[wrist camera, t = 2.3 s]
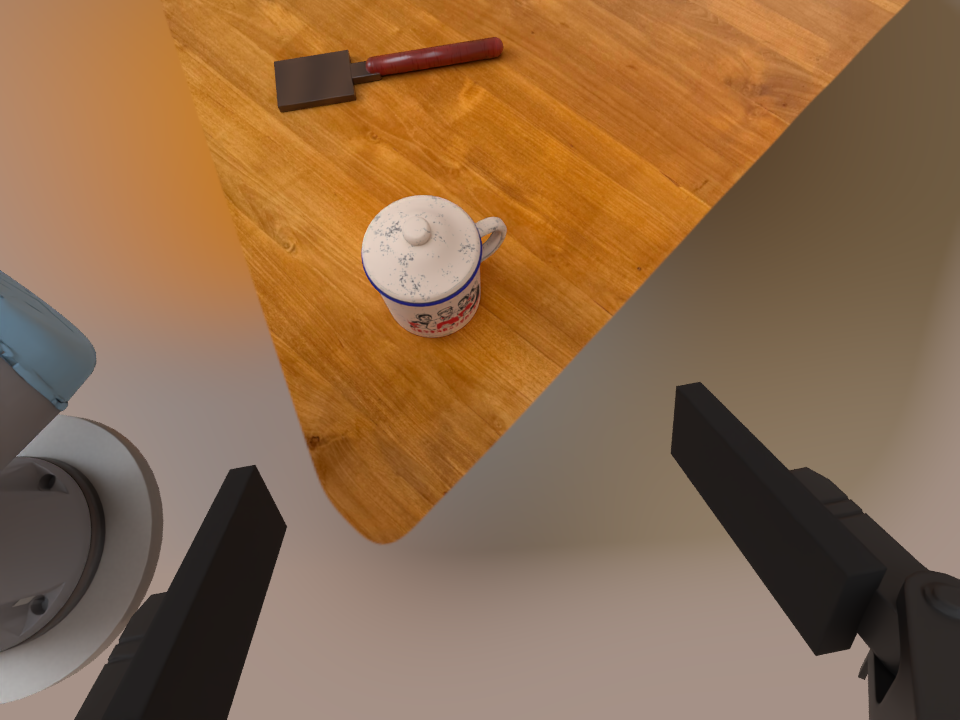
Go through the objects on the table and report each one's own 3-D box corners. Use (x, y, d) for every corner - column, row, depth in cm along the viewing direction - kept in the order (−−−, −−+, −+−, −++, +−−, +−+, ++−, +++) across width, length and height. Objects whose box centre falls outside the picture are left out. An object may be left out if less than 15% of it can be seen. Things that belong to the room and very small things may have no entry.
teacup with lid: (415, 359, 41) (388, 312, 30) (368, 279, 43) (326, 207, 32) (528, 294, 43) (542, 226, 32) (477, 220, 45) (474, 132, 34)
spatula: (281, 112, 49) (273, 98, 47) (277, 68, 50) (269, 53, 49) (508, 75, 50) (508, 60, 48) (497, 32, 51) (497, 16, 49)
